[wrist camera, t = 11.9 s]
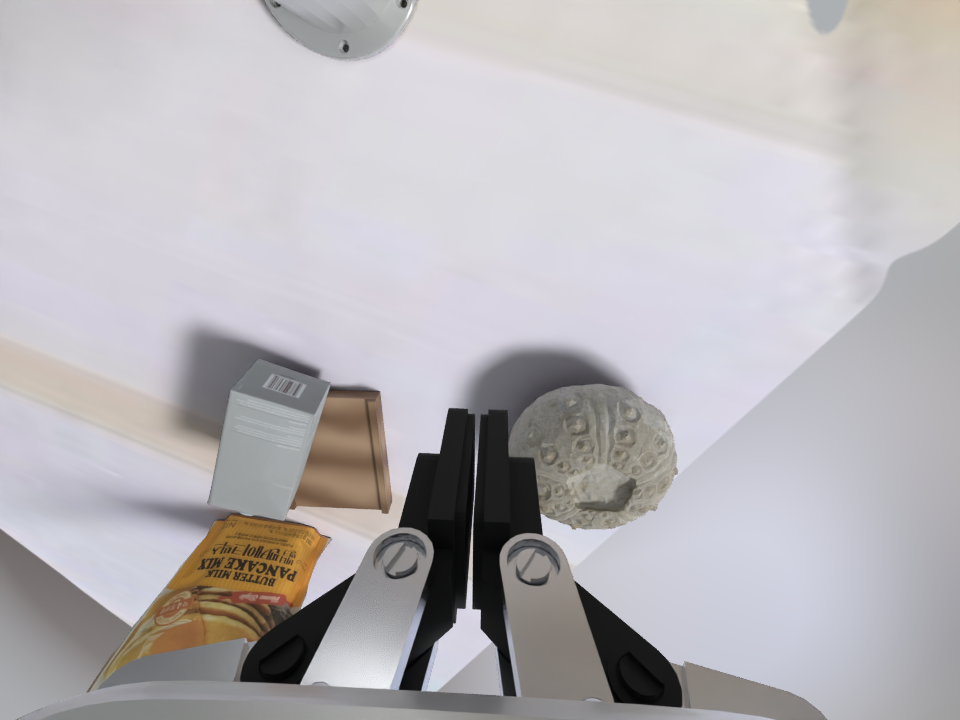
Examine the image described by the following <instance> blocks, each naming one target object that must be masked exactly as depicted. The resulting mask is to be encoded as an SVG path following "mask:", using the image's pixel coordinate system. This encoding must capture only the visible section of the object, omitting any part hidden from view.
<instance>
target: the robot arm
mask: <svg viewBox="0 0 960 720" xmlns="http://www.w3.org/2000/svg"><path fill="white" fill-rule="evenodd" d="M264 1H265V2H266V4H267V6H268V8H269V9H270V11H271V13H272V14H273V15H274V17H275V18H276V19H277V20H278V22H279V23H280V24H281V26H282V27H283V28H284V29H285V30H286V31H287V32H288V33H289V34H290V35H291V36H292V37H294V38H295V39H296V40H297V41H298V42H300V43H301V44H303V45H304V46H306V47H307V48H309V49H310V50H312V51H314V52H316V53H318V54H320V55H322V56H326V57H329V58H332V59H336V60H344V61H355V60H361V59H367V58H369V57H371V56H374V55H376V54H378V53H381V52H382V51H383V50H385V49H386V48H387V47H389V46H390V45H391V44H393V42H394V41H395V40H396V39H397V38H398V37H399V36H400V34H401V33H402V32H403V31H404V29H405V27H406V26H407V24H408V22H409V20H410V19H411V17H412V15H413V12H414V9H415V6H416V4H417V1H418V0H264ZM403 1H407V6H406V8H402V6H401V4H402V2H403ZM278 3H279V4H280V5H281V6H280V7H279V5H278ZM345 45H348V46H349V51H348V52H345V50H344V47H345ZM474 473H475V414H468V409H458V408H449V410H448V414H447V419H446V424H445V430H444V435H443V440H442V445H441V450H440V454H431V453H419V454H418V456H417V459H416V463H415V467H414V471H413V474H412V478H411V482H410V486H409V490H408V493H407V497H406V501H405V505H404V508H403V512H402V516H401V520H400V523H399V527H398V528H397V529H392V530H390V531H388V532H385V533H383V534H382V535H380V536H379V537H378V538H377V539H376V540H374V541H373V543H372V544H371V546H370V547H369V549H368V550H367V552H366V554H365V556H364V558H363V560H362V562H361V564H360V566H359V568H358V570H357V572H356V573H355V574H354V575H352V576H351V577H349V578H348V579H346V580H345V581H343V582H342V583H340V584H339V585H337V586H336V587H334V588H333V589H331V590H330V591H328V592H327V593H325V594H324V595H322V596H321V597H319V598H318V599H316V600H315V601H313V602H312V603H310V604H309V605H307V606H306V607H304V608H303V609H301V610H300V611H298V612H297V613H295V614H294V615H292V616H291V617H289V618H288V619H286V620H285V621H283V622H282V623H280V624H279V625H277V626H276V627H274V628H273V629H271V630H270V631H268V632H267V633H266V634H265V635H264V636H262V637H261V638H260V639H259V640H258V641H253V642H247V640H246V638H240V639H235V640H229V641H224V642H219V643H213V644H208V645H202V646H197V647H192V648H186V649H181V650H175V651H170V652H165V653H159V654H154V655H148V656H144V657H141V658H138V659H136V660H133V661H130V662H129V663H127V664H125V665H124V666H122V667H121V668H119V669H117V670H116V671H115V672H114V673H112V674H111V675H110V676H109V677H108V678H107V679H106V680H105V681H104V682H103V683H102V684H101V685H100V686H99V688H98V689H97V690H95V691H91V692H88V693H84V694H81V695H77V696H74V697H71V698H68V699H65V700H62V701H59V702H57V703H54V704H51V705H48V706H45V707H44V708H41V709H38V710H36V711H34V712H31V713H29V714H27V715H25V716H22V717H20V718H18V719H17V720H827V719H826V718H825V716H824V715H823V714H822V713H821V712H820V711H819V710H818V709H817V708H815V707H814V706H813V705H811V704H810V703H809V702H808V701H806V700H805V699H803V698H801V697H799V696H797V695H794V694H792V693H790V692H787V691H784V690H780V689H777V688H774V687H770V686H767V685H764V684H760V683H757V682H753V681H750V680H746V679H743V678H740V677H736V676H733V675H730V674H726V673H723V672H719V671H716V670H712V669H709V668H705V667H702V666H699V665H695V664H692V663H689V662H684V664H683V666H680V665H677V664H673V663H670V662H669V661H668V660H667V659H666V658H665V657H664V656H663V655H662V654H661V653H660V652H659V651H658V650H657V649H656V648H655V647H653V646H652V645H651V644H650V643H649V642H647V641H646V640H645V639H643V637H641V636H640V635H639V634H638V633H637V632H635V631H634V630H633V629H632V628H630V627H629V626H628V625H627V624H626V623H625V622H623V621H622V620H621V619H620V618H619V617H618V616H616V615H615V614H614V613H613V612H612V611H610V610H609V609H608V608H607V607H605V606H604V605H603V604H602V603H601V602H599V601H598V600H597V599H596V598H595V597H594V596H592V595H591V594H590V593H589V592H588V591H586V590H585V589H584V588H583V587H581V586H580V585H579V584H578V583H577V582H576V581H574V579H573V576H572V573H571V570H570V567H569V564H568V561H567V558H566V556H565V554H564V552H563V550H562V549H561V548H560V547H559V546H558V545H557V544H556V542H554V541H553V540H551V539H549V538H548V537H546V536H543V533H542V524H541V515H540V506H539V497H538V488H537V479H536V469H535V461H534V458H532V457H509V447H508V412H507V410H489V412H488V415H484V414H481V421H480V435H479V449H478V463H477V477H476V491H475V505H474V523H473V609H479V610H481V630H482V631H483V632H484V633H485V634H486V635H487V636H488V637H489V639H490V640H491V641H492V642H493V643H494V644H495V657H496V665H497V672H498V680H499V688H500V696H496V695H479V694H462V693H445V692H427V691H426V690H427V686H428V683H429V679H430V675H431V671H432V668H433V664H434V660H435V656H436V653H437V648H438V640H439V639H440V638H441V637H442V636H443V635H444V634H445V633H446V632H448V631H449V630H450V629H451V628H452V627H453V623H456V614H457V608H459V609H465V608H466V596H467V582H468V569H469V556H470V542H471V529H472V515H473V502H474Z"/></svg>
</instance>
